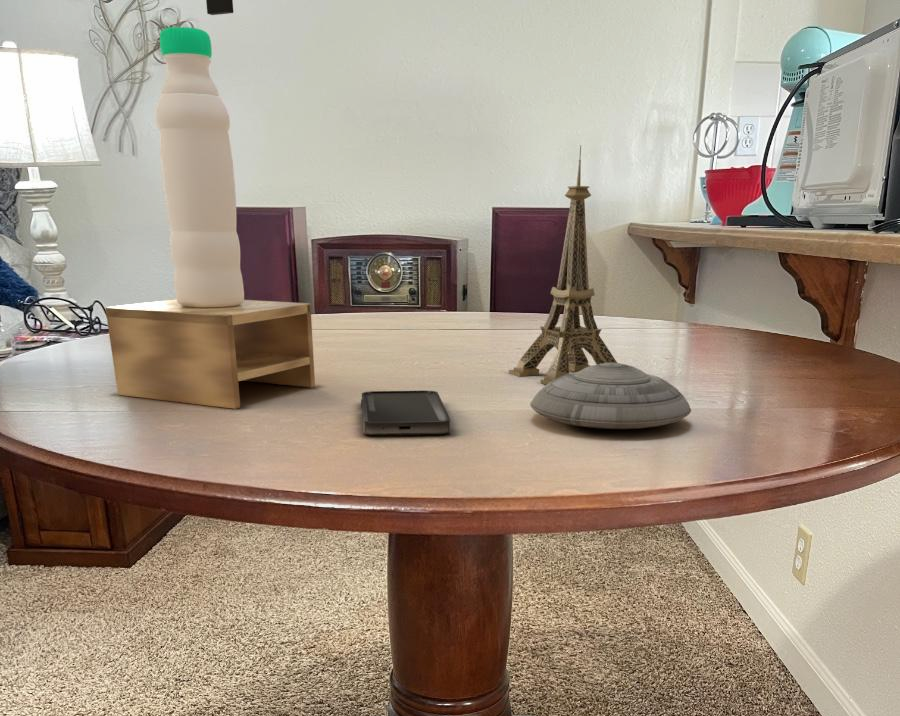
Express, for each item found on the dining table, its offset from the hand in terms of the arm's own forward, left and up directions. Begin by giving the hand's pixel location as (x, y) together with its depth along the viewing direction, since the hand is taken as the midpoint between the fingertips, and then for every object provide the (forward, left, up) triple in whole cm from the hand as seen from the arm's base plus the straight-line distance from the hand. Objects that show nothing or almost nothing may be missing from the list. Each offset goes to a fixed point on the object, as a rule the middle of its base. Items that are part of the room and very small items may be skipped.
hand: (172, 0), depth 83 cm
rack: (+1, 0, -36) cm, 36 cm away
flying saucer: (+44, +5, -37) cm, 57 cm away
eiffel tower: (+32, +27, -37) cm, 56 cm away
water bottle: (+1, 0, -28) cm, 28 cm away
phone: (+26, -3, -36) cm, 45 cm away
